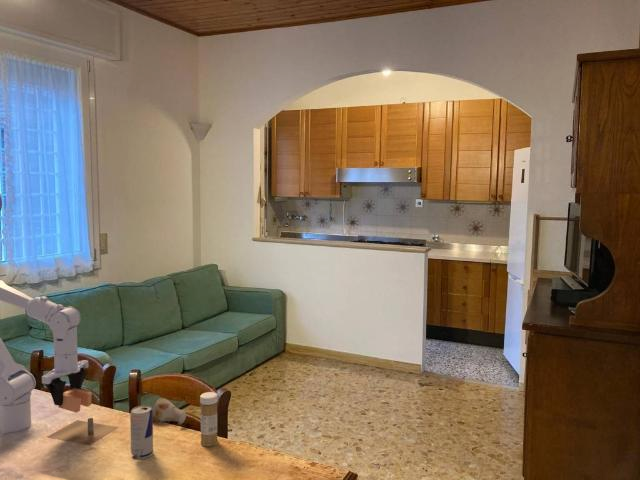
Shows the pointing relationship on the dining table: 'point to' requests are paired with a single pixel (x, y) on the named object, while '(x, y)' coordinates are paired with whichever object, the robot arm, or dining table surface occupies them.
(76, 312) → the robot arm
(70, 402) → the c link
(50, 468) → the dining table surface
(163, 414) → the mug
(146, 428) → the energy drink
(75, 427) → the stand
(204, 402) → the sprinkles bottle
